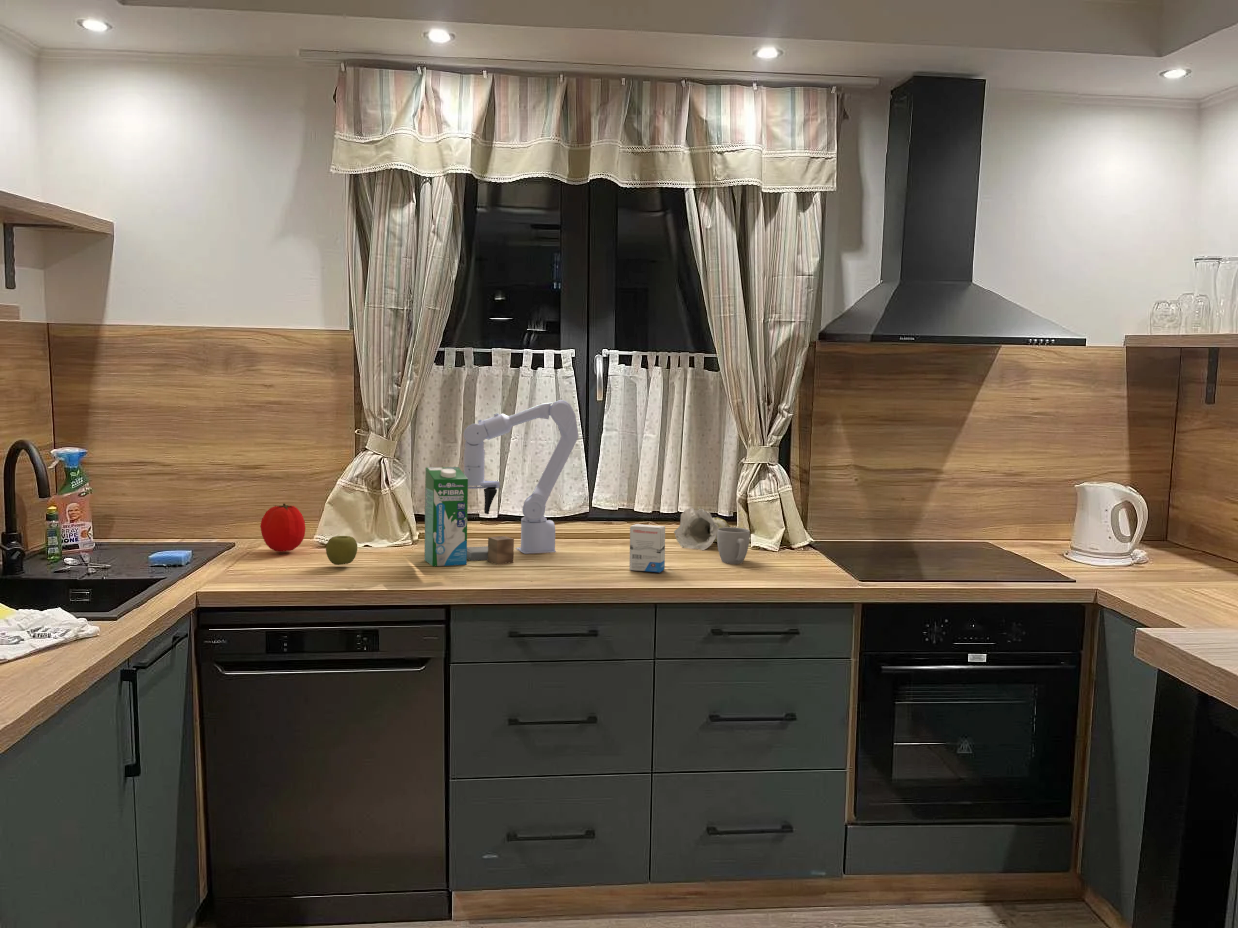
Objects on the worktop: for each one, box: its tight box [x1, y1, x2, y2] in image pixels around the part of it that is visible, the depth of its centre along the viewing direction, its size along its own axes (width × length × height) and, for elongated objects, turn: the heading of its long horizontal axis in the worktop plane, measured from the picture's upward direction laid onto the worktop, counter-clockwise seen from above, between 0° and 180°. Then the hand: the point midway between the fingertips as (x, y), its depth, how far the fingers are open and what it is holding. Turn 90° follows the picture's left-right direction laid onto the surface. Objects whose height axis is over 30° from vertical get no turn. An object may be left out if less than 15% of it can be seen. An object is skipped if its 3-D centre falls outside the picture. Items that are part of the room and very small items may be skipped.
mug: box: [717, 526, 751, 565], centre depth 252 cm, size 12×9×10 cm
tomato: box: [260, 502, 306, 552], centre depth 254 cm, size 12×12×13 cm
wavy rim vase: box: [673, 507, 731, 551], centre depth 277 cm, size 12×13×18 cm
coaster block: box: [467, 545, 488, 562], centre depth 255 cm, size 9×9×3 cm
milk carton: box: [423, 466, 469, 568], centre depth 244 cm, size 9×9×25 cm
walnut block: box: [487, 535, 515, 565], centre depth 248 cm, size 5×5×6 cm
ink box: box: [629, 523, 666, 573], centre depth 243 cm, size 9×5×12 cm, turn 71°
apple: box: [325, 535, 358, 566], centre depth 239 cm, size 8×8×7 cm
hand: (473, 514), depth 263 cm, fingers open, 7 cm apart
